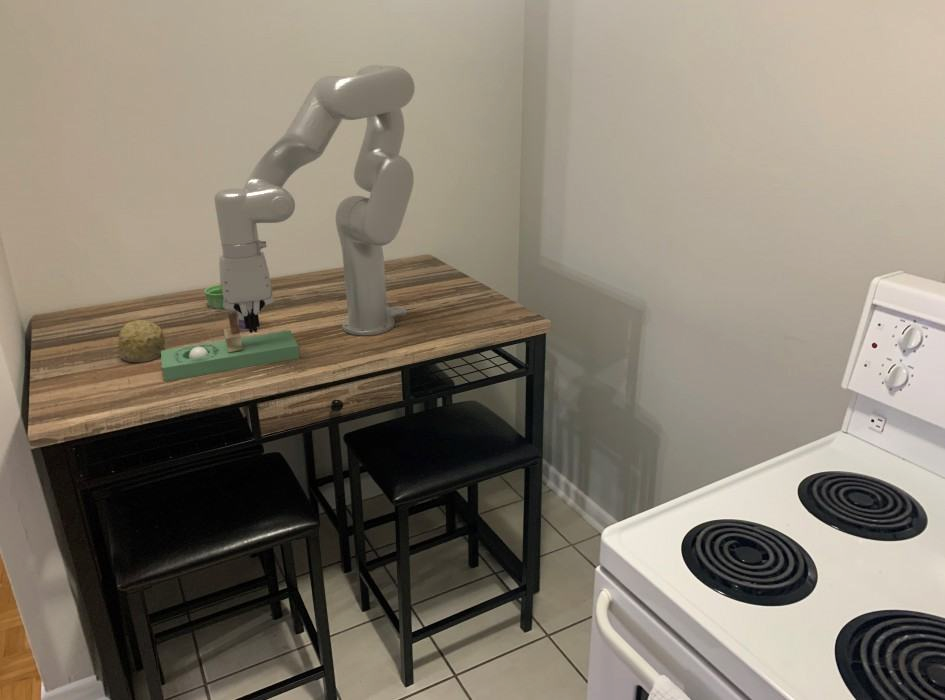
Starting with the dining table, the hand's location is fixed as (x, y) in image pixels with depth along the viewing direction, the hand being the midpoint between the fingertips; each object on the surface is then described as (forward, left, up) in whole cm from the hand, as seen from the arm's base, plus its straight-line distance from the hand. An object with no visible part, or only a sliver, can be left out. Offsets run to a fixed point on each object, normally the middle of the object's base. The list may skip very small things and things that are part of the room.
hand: (252, 330), depth 161 cm
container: (-1, -19, -7) cm, 20 cm away
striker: (+4, 0, -3) cm, 5 cm away
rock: (+23, -12, -7) cm, 27 cm away
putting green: (+5, 0, -6) cm, 8 cm away
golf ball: (+12, 0, -4) cm, 13 cm away
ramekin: (+3, -40, -7) cm, 41 cm away
